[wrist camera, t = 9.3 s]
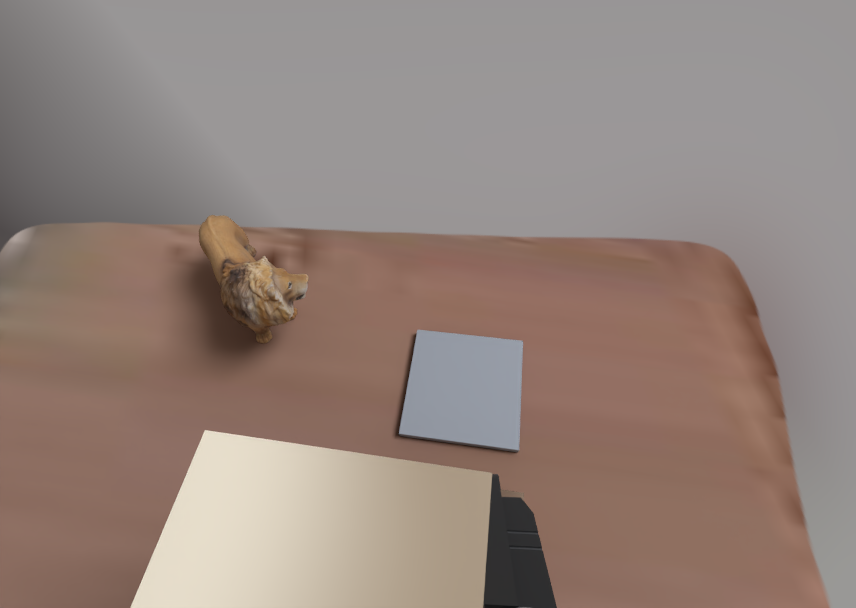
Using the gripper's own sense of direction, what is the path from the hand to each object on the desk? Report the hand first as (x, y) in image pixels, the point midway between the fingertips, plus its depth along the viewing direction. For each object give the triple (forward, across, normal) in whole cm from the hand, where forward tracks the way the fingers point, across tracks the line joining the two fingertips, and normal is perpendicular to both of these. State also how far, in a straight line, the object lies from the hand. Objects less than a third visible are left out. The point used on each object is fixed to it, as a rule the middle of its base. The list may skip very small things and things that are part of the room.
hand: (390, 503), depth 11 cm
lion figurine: (+25, +14, +1) cm, 29 cm away
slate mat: (+20, -2, +6) cm, 20 cm away
